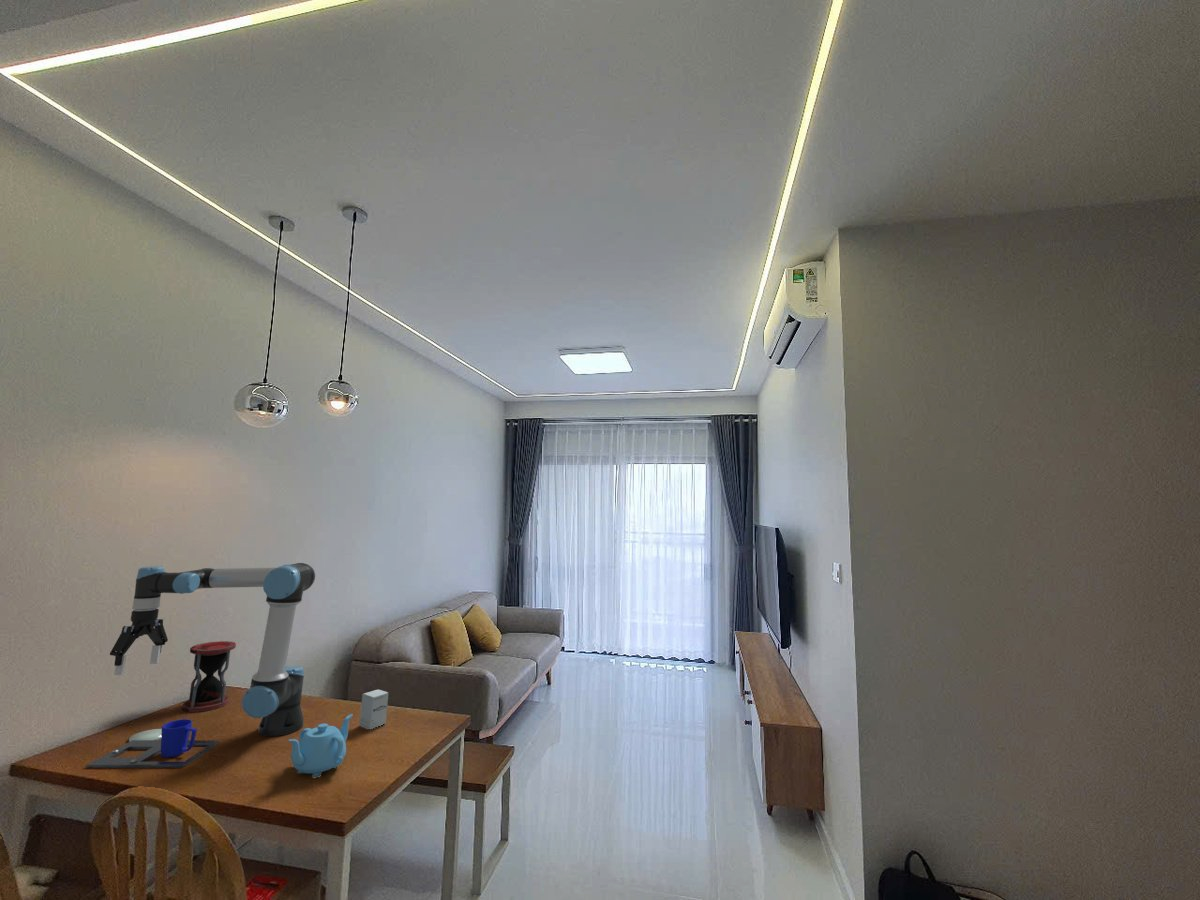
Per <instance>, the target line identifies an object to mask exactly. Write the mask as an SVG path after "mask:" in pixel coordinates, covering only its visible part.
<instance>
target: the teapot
mask: <svg viewBox="0 0 1200 900" xmlns="http://www.w3.org/2000/svg"><path fill="white" fill-rule="evenodd" d="M353 715H354V714H353V713H350V714H348V715H347V716H346V717H345V718H344V720H343V722H342V724H341V727H340V729H339V728H338V727H336V726H335V725H329V724H328V723H321V724H320V723H319V724H318V725H317V726H316V727H314V728H310V727H305V728H304V729H302V730H301V731H300V733H299V740H298V739H294V738H292V739H287V740H288V742H289V743H291V746H292V747H291V749H292V750H291V755H290V758H291V764H292V766H293V768H295V770H297V771H296V774H298V773H302V774H311V777H312V776H313V777H318V776H320V775H321V774H322V772H326V771H329V770H331V768H335V767H337V766H338V765H339V766H340V765H341V764H342V763H344V762H343V761H344V758H345V756H346V754H347V745H346V742H347V739H348V736H349V725H350V721H351V719H352V717H353ZM335 769H336V768H335Z"/></svg>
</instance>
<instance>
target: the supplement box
mask: <svg viewBox="0 0 1200 900" xmlns="http://www.w3.org/2000/svg"><path fill="white" fill-rule="evenodd" d="M388 702H389V692H387V691H385V690H382V689H375V690H371V691H368V692H365V693H362V694H361V705H360V715H359V727H360V726H361V727H360V728H362V727H364V728H363V729H365V728H367V729H372V730H374V729H376V728H375V727H377V728H379V727H378V726H380V727H382V726H381V725H383V724H385V723H387V712H388V704H389V703H388ZM385 725H386V724H385ZM383 726H384V725H383ZM373 728H374V729H373ZM367 729H366V730H367Z"/></svg>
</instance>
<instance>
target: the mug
mask: <svg viewBox="0 0 1200 900" xmlns="http://www.w3.org/2000/svg"><path fill="white" fill-rule="evenodd" d="M192 725H193V720H191V719H186V718H185V719H176V720H171V721H168V722H167V723H164V724H163V725H162V726H161V729H162V734H161V739H160V740H161V752H160V756H161V757H163V758H174V757H177V756H179V755H182V754H183V753H185V752H189V751H191V750H192V748H193V744H194V741H195V739H196V735H197V730H198V729H197V728H195V727H192ZM190 734H191V735H190ZM188 740H190V744H189V746H187V743H188Z"/></svg>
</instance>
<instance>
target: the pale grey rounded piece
mask: <svg viewBox="0 0 1200 900" xmlns="http://www.w3.org/2000/svg"><path fill="white" fill-rule="evenodd" d="M161 734H162V728H155V729H154V728H153V729H148V730H143V731H140V732H137V733H135V734H132V735H131V736H130V737H129V739H128V742H130V741H132V740H161Z"/></svg>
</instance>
